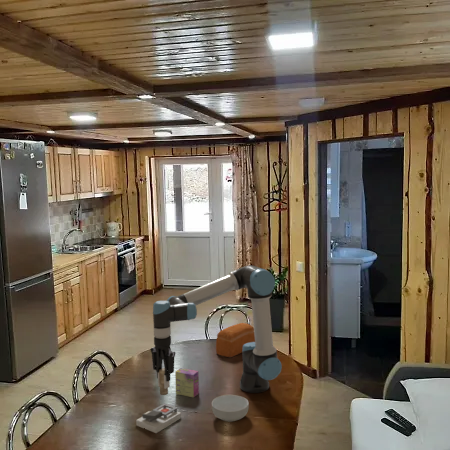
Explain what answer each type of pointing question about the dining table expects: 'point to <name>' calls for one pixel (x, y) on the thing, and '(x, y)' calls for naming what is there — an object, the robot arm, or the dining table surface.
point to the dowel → (162, 382)
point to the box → (187, 382)
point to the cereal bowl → (230, 407)
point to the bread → (234, 339)
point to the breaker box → (160, 419)
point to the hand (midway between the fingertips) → (163, 386)
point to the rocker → (152, 415)
